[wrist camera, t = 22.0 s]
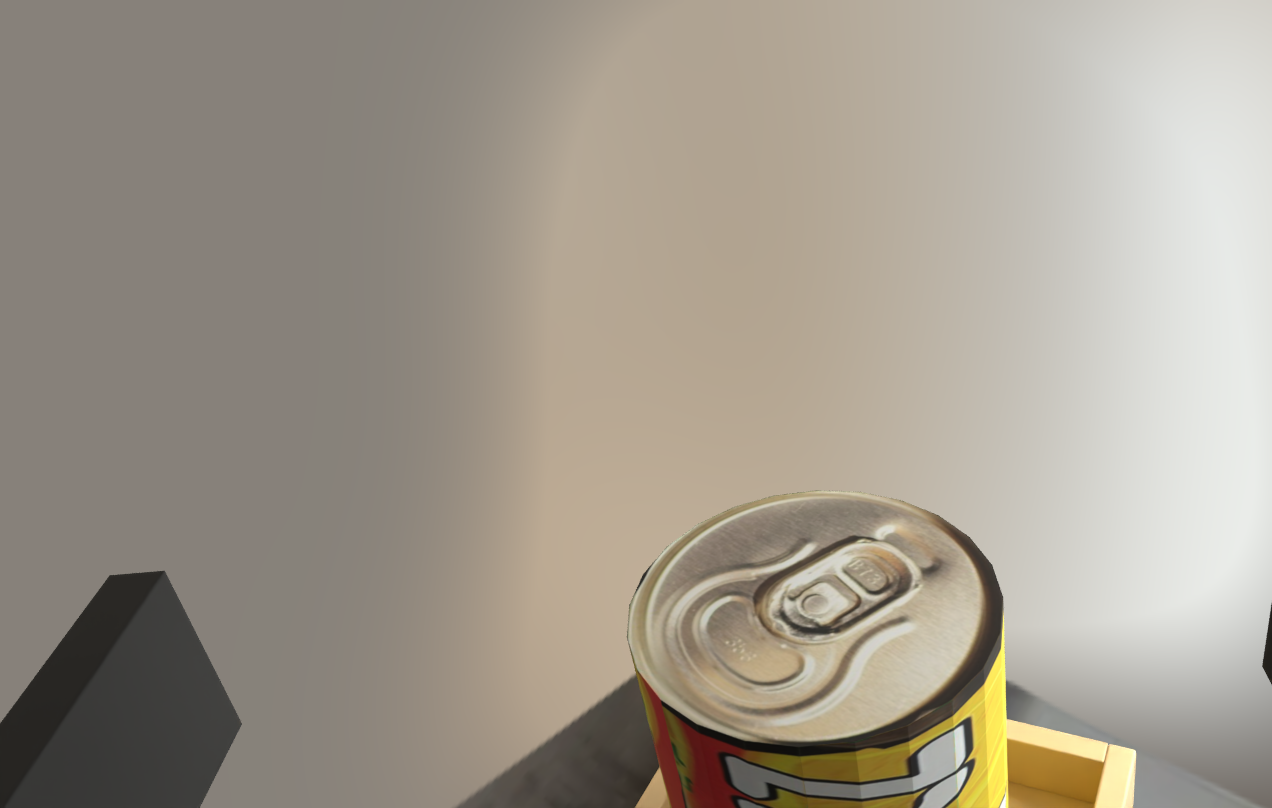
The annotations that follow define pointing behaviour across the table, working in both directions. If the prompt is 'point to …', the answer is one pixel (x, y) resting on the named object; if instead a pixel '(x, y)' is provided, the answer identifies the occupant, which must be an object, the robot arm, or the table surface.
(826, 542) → the beverage can
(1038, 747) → the serving tray
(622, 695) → the table surface
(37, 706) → the robot arm
